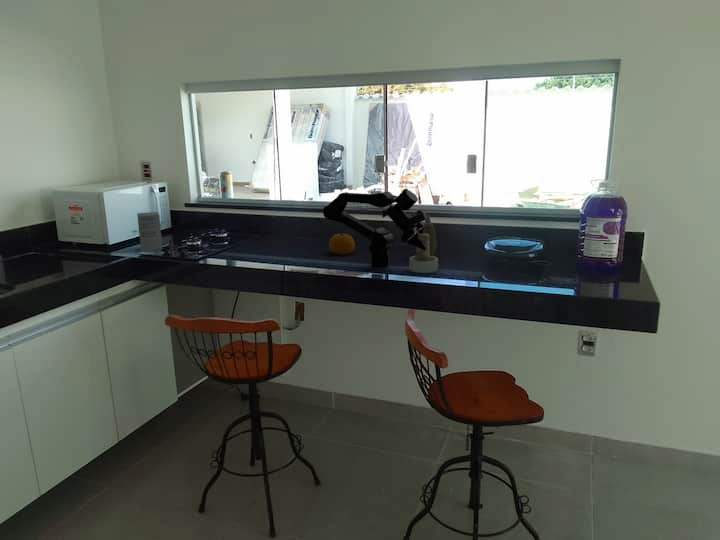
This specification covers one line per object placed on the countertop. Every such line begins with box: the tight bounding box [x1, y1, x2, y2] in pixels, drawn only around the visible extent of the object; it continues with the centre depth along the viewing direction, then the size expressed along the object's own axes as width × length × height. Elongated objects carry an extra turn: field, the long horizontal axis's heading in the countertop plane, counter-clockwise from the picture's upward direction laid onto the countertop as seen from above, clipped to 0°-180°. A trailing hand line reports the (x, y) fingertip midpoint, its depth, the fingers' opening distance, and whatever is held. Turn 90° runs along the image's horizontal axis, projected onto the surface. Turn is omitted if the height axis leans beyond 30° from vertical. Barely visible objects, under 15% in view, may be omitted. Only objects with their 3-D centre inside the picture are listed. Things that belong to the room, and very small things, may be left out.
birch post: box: [416, 234, 430, 261], centre depth 217 cm, size 5×5×13 cm
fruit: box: [328, 231, 356, 256], centre depth 248 cm, size 12×12×10 cm
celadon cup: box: [408, 255, 439, 274], centre depth 219 cm, size 11×11×4 cm
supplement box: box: [136, 211, 164, 252], centre depth 259 cm, size 10×9×17 cm
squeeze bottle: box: [422, 213, 437, 256], centre depth 242 cm, size 8×8×18 cm
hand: (427, 247), depth 216 cm, fingers open, 8 cm apart
